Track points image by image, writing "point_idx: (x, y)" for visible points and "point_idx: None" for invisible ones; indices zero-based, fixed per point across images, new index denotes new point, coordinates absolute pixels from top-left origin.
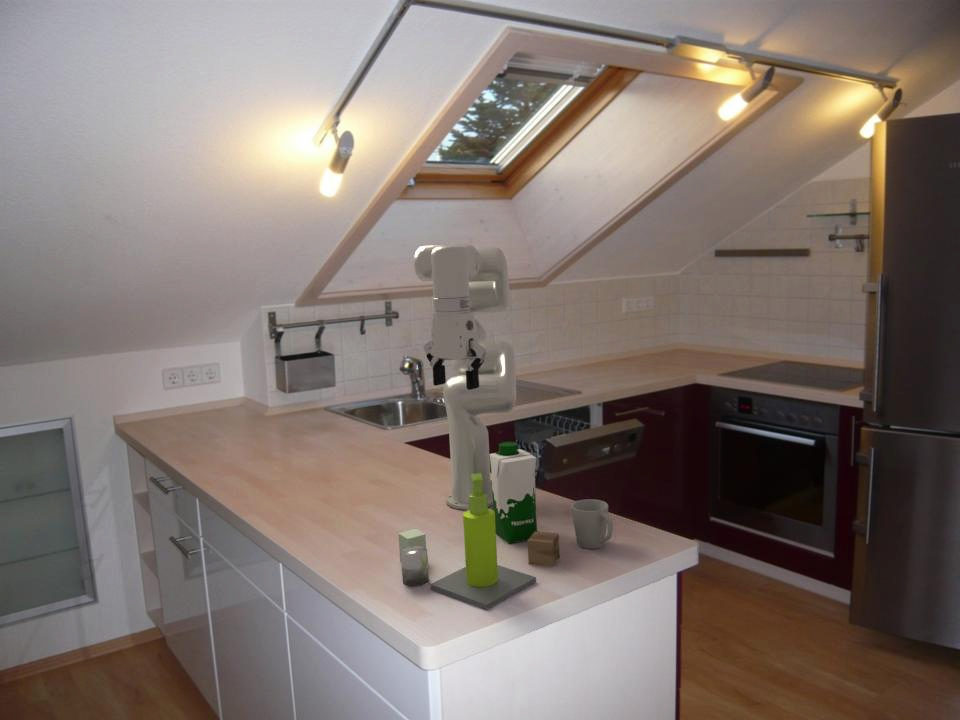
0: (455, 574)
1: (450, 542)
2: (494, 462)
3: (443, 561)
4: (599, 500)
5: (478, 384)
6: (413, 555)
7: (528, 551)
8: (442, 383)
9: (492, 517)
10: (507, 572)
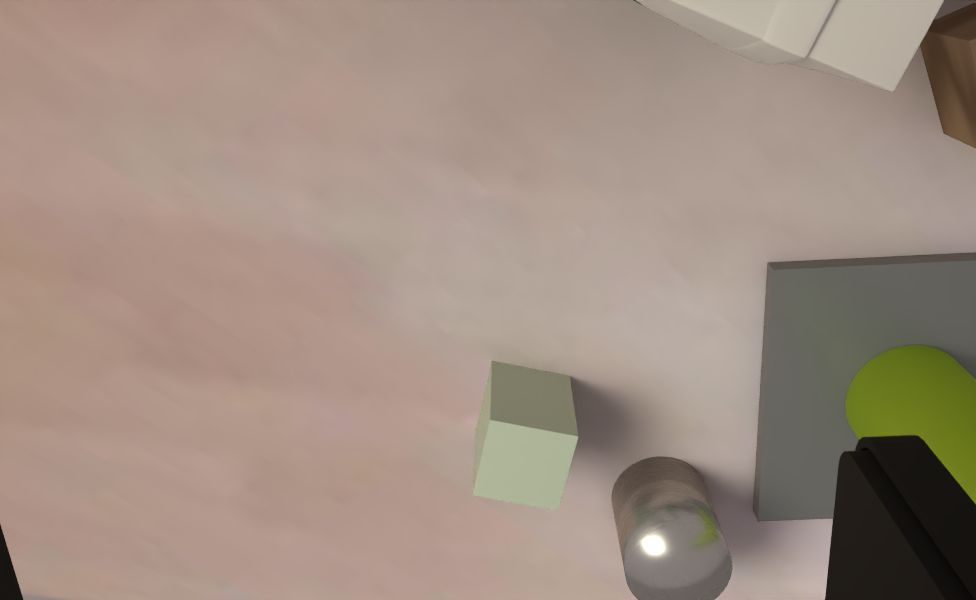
0: (780, 420)
1: (487, 176)
2: (718, 32)
3: (616, 331)
4: None
5: (930, 466)
6: (708, 595)
7: (972, 144)
8: (5, 558)
9: None
10: (950, 291)
